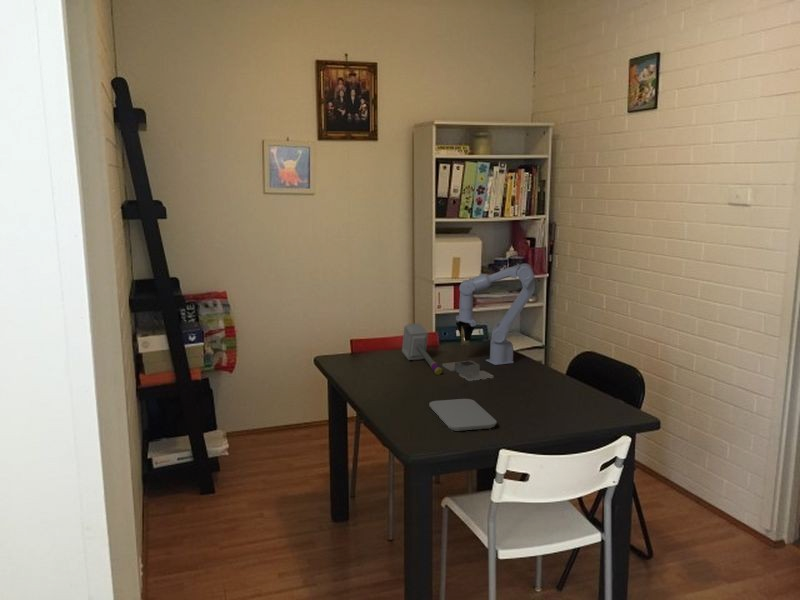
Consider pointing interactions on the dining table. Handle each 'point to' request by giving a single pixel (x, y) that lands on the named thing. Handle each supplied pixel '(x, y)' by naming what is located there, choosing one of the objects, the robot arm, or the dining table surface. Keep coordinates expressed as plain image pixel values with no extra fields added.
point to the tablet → (462, 414)
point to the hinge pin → (463, 338)
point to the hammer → (417, 345)
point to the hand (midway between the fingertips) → (465, 339)
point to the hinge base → (468, 370)
